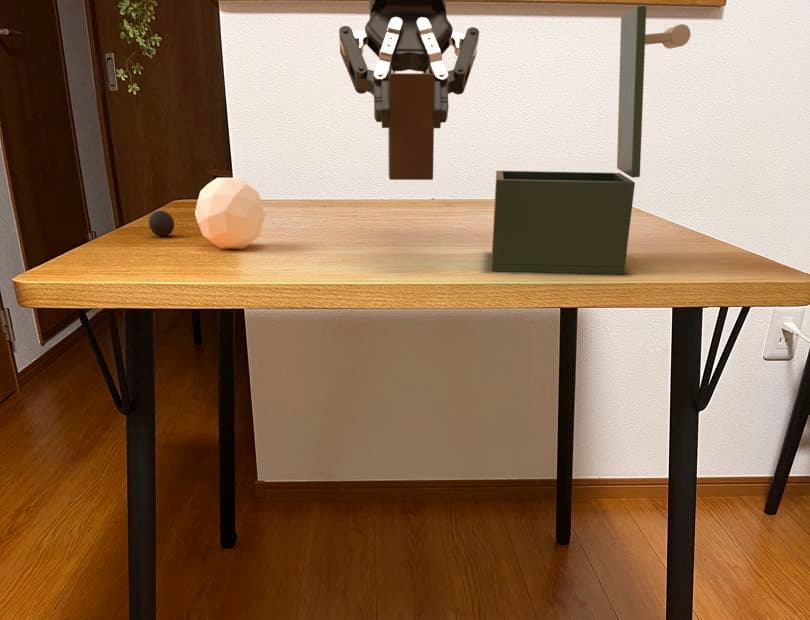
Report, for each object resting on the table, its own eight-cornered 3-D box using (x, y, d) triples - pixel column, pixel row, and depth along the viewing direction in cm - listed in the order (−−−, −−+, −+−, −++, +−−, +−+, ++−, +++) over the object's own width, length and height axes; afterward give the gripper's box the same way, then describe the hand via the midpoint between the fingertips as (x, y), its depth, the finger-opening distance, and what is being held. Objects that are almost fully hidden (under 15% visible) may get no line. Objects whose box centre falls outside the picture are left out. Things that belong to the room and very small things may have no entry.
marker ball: (180, 236, 109) (177, 210, 108) (161, 239, 107) (158, 212, 106) (164, 233, 111) (161, 208, 109) (145, 236, 108) (142, 210, 107)
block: (430, 176, 88) (431, 74, 84) (433, 179, 84) (434, 73, 80) (388, 176, 88) (387, 74, 83) (389, 179, 84) (388, 73, 80)
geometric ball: (252, 272, 103) (284, 217, 98) (188, 252, 98) (218, 193, 93) (240, 231, 106) (270, 176, 102) (178, 209, 102) (206, 151, 97)
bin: (491, 270, 90) (496, 179, 86) (491, 252, 100) (496, 170, 96) (624, 274, 89) (635, 182, 85) (610, 255, 99) (620, 172, 95)
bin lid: (637, 6, 78) (699, -1, 78) (621, 15, 89) (675, 10, 88) (631, 177, 85) (688, 173, 84) (616, 168, 95) (668, 164, 94)
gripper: (333, -54, 83) (333, 89, 78) (482, -52, 84) (493, 90, 78) (336, 15, 90) (336, 151, 85) (474, 16, 91) (483, 151, 86)
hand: (411, 120), depth 82 cm, fingers closed on block, 4 cm apart
